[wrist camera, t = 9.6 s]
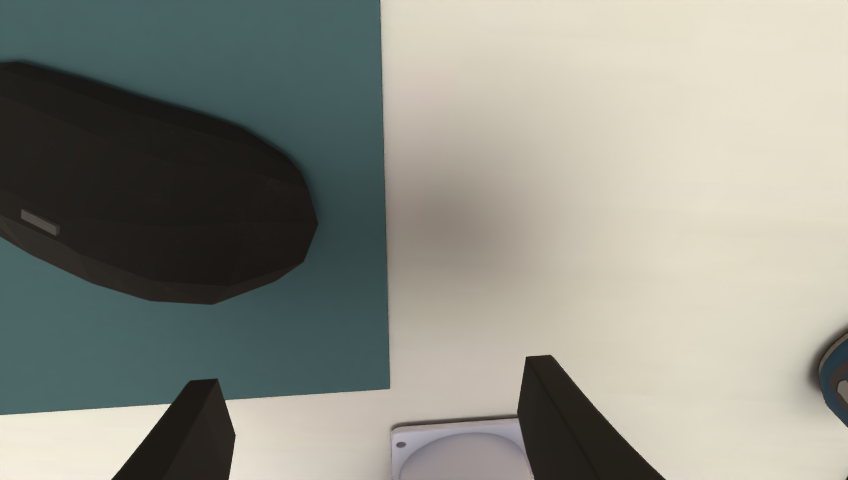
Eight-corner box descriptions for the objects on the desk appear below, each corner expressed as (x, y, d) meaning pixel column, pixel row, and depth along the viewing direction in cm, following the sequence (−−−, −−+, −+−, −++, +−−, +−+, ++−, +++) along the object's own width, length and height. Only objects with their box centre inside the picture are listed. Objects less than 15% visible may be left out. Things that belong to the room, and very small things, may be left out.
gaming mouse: (-199, -32, 13) (-391, -16, 10) (340, 157, 18) (334, 213, 14) (-165, 172, 16) (-303, 238, 13) (290, 290, 20) (276, 363, 17)
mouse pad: (389, 384, 25) (390, 389, 24) (-5, 410, 23) (-9, 415, 23) (371, -324, 12) (371, -330, 11) (-545, -388, 10) (-569, -396, 10)
